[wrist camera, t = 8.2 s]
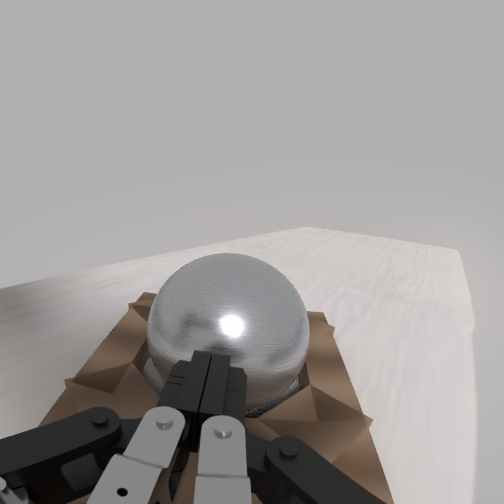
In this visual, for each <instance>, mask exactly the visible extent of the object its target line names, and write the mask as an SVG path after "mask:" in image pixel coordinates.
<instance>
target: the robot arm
mask: <svg viewBox="0 0 504 504" xmlns="http://www.w3.org/2000/svg"><path fill="white" fill-rule="evenodd" d="M230 362H231V355H230V354H222V353H214V352H213V356H212V352H206V351H199V350H194V352H193V355H192V358H191V361H185V360H179V361H178V362H177V363H176V364H174V365H173V366H172V368H171V371H170V373H169V376H168V378H167V380H166V383H165V385H164V388H163V390H162V393H161V395H160V398H159V400H158V403H157V405H156V407H155V408H153V409H150V410H149V411H148V412H147V413H146V414H145V415H144V417H142V418H137V419H120V418H119V416H118V414H117V413H116V412H115V411H114V410H112V409H110V408H107V407H101V406H99V407H93V408H90V409H87V410H84V411H82V412H79V413H76V414H74V415H71V416H68V417H66V418H63V419H60V420H57V421H55V422H52V423H49V424H46V425H43V426H40V427H37V428H34V429H31V430H28V431H25V432H22V433H19V434H16V435H13V436H9V437H6V438H3V439H0V504H67V503H69V502H72V501H74V500H77V499H79V498H81V497H84V496H86V495H88V494H91V493H92V494H91V496H90V498H89V499H88V501H87V503H83V504H175V503H176V500H177V497H178V494H179V491H180V488H181V485H182V482H183V479H184V476H185V473H186V470H187V463H188V461H189V456H190V452H194V453H197V452H198V447H199V461H198V472H197V474H196V482H195V494H194V504H252V500H251V493H254V494H256V496H257V498H258V499H259V500H260V501H261V502H262V503H263V504H387V503H385V502H384V501H382V500H381V499H379V498H378V497H376V496H375V495H373V494H372V493H371V492H369V491H368V490H366V489H365V488H363V487H362V486H361V485H359V484H358V483H356V482H355V481H354V480H352V479H351V478H350V477H348V476H347V475H346V474H344V473H343V472H342V471H340V470H339V469H338V468H336V467H335V466H334V465H332V464H331V463H330V462H329V461H327V460H326V459H325V458H323V457H322V456H321V455H320V454H318V453H317V452H316V451H315V450H314V449H312V448H311V447H310V446H309V445H307V444H306V443H305V442H304V441H302V440H300V439H298V438H296V437H291V436H282V437H278V438H275V439H273V440H272V441H268V440H265V439H262V438H259V437H257V436H255V435H253V434H252V433H251V432H250V431H249V430H248V429H247V427H246V425H245V407H246V391H247V375H246V373H245V371H244V370H243V368H238V367H230Z"/></svg>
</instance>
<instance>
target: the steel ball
mask: <svg viewBox="0 0 504 504" xmlns="http://www.w3.org/2000/svg"><path fill="white" fill-rule="evenodd" d="M309 339H310V329H309V321H308V316H307V312H306V309H305V306H304V304H303V301H302V299H301V297H300V295H299V293H298V292H297V290H296V289H295V287H294V286H293V285H292V283H291V282H290V281H289V280H288V279H287V278H286V277H285V276H284V275H283V274H282V273H280V272H279V271H278V270H277V269H275V268H274V267H272V266H271V265H269V264H268V263H266V262H263V261H261V260H259V259H257V258H253V257H250V256H247V255H241V254H232V253H222V254H213V255H209V256H205V257H202V258H199V259H196V260H194V261H192V262H190V263H188V264H186V265H184V266H183V267H182V268H180V269H179V270H177V271H176V272H175V273H174V274H173V275H172V276H171V277H170V278H169V279H168V280H167V281H166V282H165V283H164V285H163V286H162V287H161V289H160V290H159V292H158V294H157V295H156V297H155V299H154V302H153V304H152V306H151V310H150V314H149V318H148V327H147V342H148V347H149V352H150V355H151V358H152V361H153V364H154V366H155V368H156V370H157V372H158V374H159V375H160V377H161V378H162V380H163V381H164V382H165V383H166V380H167V378H168V376H169V373H170V371H171V368H172V366H173V365H174V364H176V363H177V362H178V361H179V360H185V361H191V358H192V355H193V352H194V350H199V351H206V352H212V356H213V352H214V353H222V354H230V355H231V362H230V367H238V368H243V370H244V371H245V373H246V375H247V391H246V407H245V412H247V411H251V410H254V409H257V408H260V407H262V406H264V405H267V404H268V403H270V402H272V401H273V400H275V399H276V398H278V397H279V396H280V395H281V394H282V393H284V392H285V391H286V390H287V389H288V388H289V387H290V386H291V384H292V383H293V382H294V381H295V379H296V378H297V376H298V374H299V373H300V371H301V369H302V367H303V365H304V362H305V360H306V356H307V352H308V347H309Z"/></svg>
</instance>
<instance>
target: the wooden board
mask: <svg viewBox="0 0 504 504" xmlns="http://www.w3.org/2000/svg"><path fill="white" fill-rule="evenodd" d="M156 295H157V294H154V293H147V292H144V293H143V294H142V295H141V296H140V298H139V299H138V300H137V301H136V302H134V303H129V311H128V312H127V313H126V314H125V315H124V317H123V318H122V319H121V320H120V321H119V323H118V324H117V325H116V326H115V327H114V329H113V330H112V331H111V332H110V334H109V335H108V336H107V337H106V338H105V340H104V341H103V342H102V343H101V345H100V346H99V347H98V348H97V350H96V351H95V352H94V353H93V355H92V356H91V357H90V358H89V360H88V361H87V362H86V364H85V365H84V366H83V367H82V369H81V370H80V371H79V372H78V374H77V375H76V376H75V377H74V378H70V379H66V380H65V384H66V387H67V388H66V389H65V391H64V392H63V393H62V395H61V396H60V397H59V399H58V400H57V401H56V403H55V404H54V405H53V407H52V408H51V410H50V411H49V412H48V414H47V415H46V416H45V418H44V419H43V421H42V422H41V423H40V425H39V426H38V427H40V426H43V425H46V424H49V423H52V422H55V421H57V420H60V419H63V418H66V417H68V416H71V415H74V414H76V413H79V412H82V411H84V410H87V409H90V408H93V407H99V406H101V407H107V408H110V409H112V410H114V411H115V412H116V413H117V414H118V416H119V418H120V419H137V418H142V417H144V415H145V414H146V413H147V412H148V411H149V410H150V409H153V408H155V407H156V405H157V403H158V400H159V398H160V396H159V394H158V393H157V392H156V391H155V390H154V389H153V387H152V386H151V385H150V384H149V383H148V382H147V380H146V379H145V378H144V377H143V375H142V374H141V373H140V372H141V371H142V369H143V367H144V365H145V363H146V361H147V359H148V357H149V356H150V352H149V347H148V342H147V327H148V318H149V314H150V310H151V306H152V304H153V302H154V299H155V297H156ZM306 312H307V316H308V321H309V329H310V339H309V347H308V352H307V356H306V360H305V362H304V365H303V367H302V369H301V371H300V373H299V378H300V383H301V389H302V390H301V391H299V392H298V393H296V394H295V395H293V396H292V397H290V398H289V399H287V400H286V401H284V402H282V403H281V404H279V405H278V406H276V407H274V408H273V409H271V410H270V411H268V412H266V413H265V414H263V415H261V416H260V417H258V418H246V417H245V425H246V427H247V429H248V430H249V431H250V432H251V433H252V434H253V435H255V436H257V437H259V438H262V439H265V440H268V441H272V440H273V439H275V438H278V437H282V436H291V437H296V438H298V439H300V440H302V441H304V442H305V443H306V444H307V445H309V446H310V447H311V448H312V449H314V450H315V451H316V452H317V453H318V454H320V455H321V456H322V457H323V458H325V459H326V460H327V461H329V462H330V463H331V464H332V465H334V466H335V467H336V468H338V469H339V470H340V471H342V472H343V473H344V474H346V475H347V476H348V477H350V478H351V479H352V480H354V481H355V482H356V483H358V484H359V485H361V486H362V487H363V488H365V489H366V490H368V491H369V492H371V493H372V494H373V495H375V496H376V497H378V498H379V499H381V500H382V501H384V502H385V503H387V504H394V502H393V499H392V496H391V493H390V490H389V487H388V484H387V480H386V478H385V475H384V472H383V469H382V466H381V463H380V460H379V457H378V454H377V451H376V448H375V446H374V443H373V440H372V437H371V434H370V432H369V427H370V425H371V423H372V421H373V419H371V418H370V417H368V416H366V415H364V414H363V412H362V410H361V407H360V404H359V402H358V399H357V396H356V394H355V391H354V388H353V386H352V383H351V381H350V378H349V375H348V373H347V370H346V368H345V365H344V362H343V360H342V357H341V355H340V352H339V350H338V347H337V345H336V342H335V340H334V337H333V333H334V329H335V327H333V326H331V325H329V324H328V323H327V320H326V318H325V315H324V313H322V312H310V311H306ZM198 461H199V447H198V452H197V453H194V452H190V456H189V461H188V463H187V470H186V473H185V476H184V479H183V482H182V485H181V488H180V491H179V494H178V497H177V500H176V503H175V504H194V494H195V482H196V474H197V472H198ZM91 494H92V493H91ZM91 494H88V495H86V496H84V497H81V498H79V499H77V500H74V501H72V502H69V503H67V504H83V503H87V501H88V499H89V498H90V496H91ZM251 500H252V504H263V503H262V502H261V501H260V500H259V499H258V498H257V496H256V494H254V493H251Z"/></svg>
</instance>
